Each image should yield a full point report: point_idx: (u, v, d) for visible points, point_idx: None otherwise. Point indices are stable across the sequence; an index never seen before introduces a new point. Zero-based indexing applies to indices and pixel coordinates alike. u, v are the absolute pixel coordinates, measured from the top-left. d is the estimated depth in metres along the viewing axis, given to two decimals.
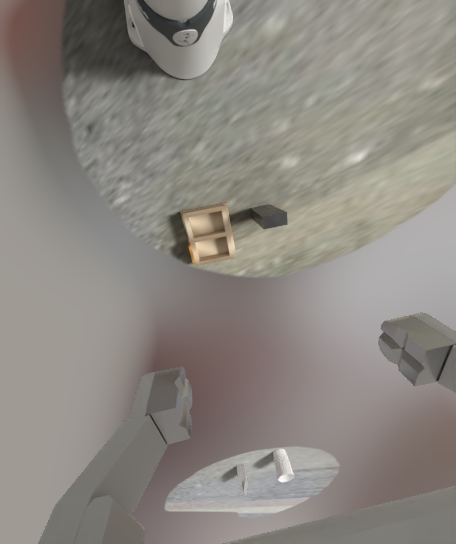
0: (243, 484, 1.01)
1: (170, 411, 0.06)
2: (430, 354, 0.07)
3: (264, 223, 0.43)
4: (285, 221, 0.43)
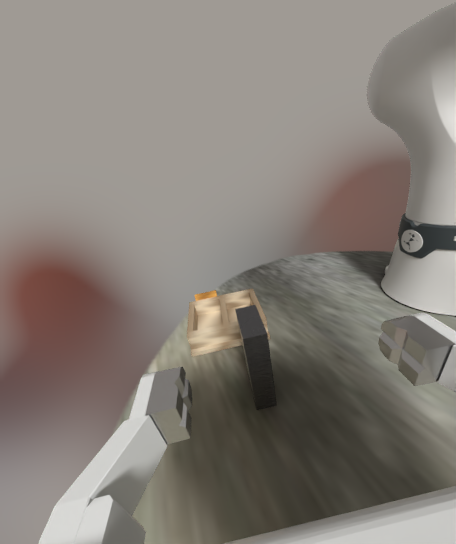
0: None
1: (170, 412, 0.06)
2: (430, 354, 0.07)
3: (244, 308, 0.25)
4: (248, 334, 0.21)
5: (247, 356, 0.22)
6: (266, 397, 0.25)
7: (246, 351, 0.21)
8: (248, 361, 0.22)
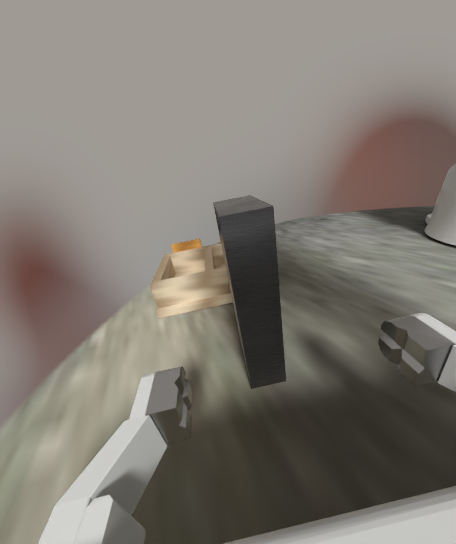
0: None
1: (169, 412, 0.06)
2: (430, 354, 0.07)
3: (230, 199, 0.14)
4: (232, 212, 0.10)
5: (230, 266, 0.10)
6: (268, 363, 0.14)
7: (228, 252, 0.10)
8: (233, 279, 0.11)
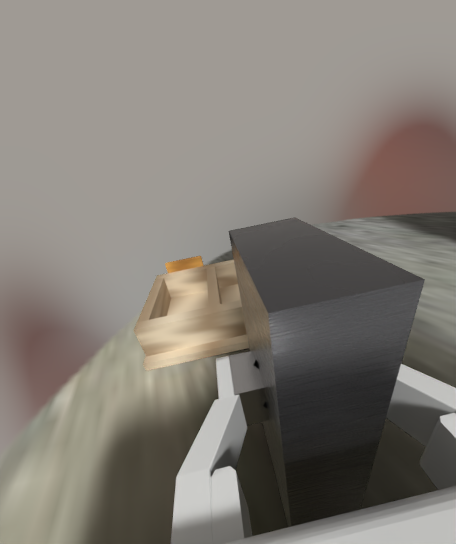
0: None
1: (258, 391, 0.06)
2: None
3: (261, 225, 0.07)
4: (302, 290, 0.04)
5: (284, 408, 0.04)
6: None
7: (282, 385, 0.04)
8: (286, 429, 0.05)
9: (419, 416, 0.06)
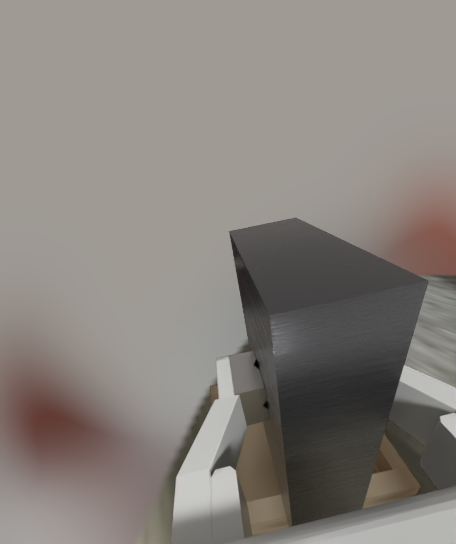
0: None
1: (258, 391, 0.06)
2: None
3: (262, 226, 0.07)
4: (303, 292, 0.03)
5: (286, 411, 0.04)
6: None
7: (284, 388, 0.04)
8: (288, 431, 0.05)
9: (419, 416, 0.06)
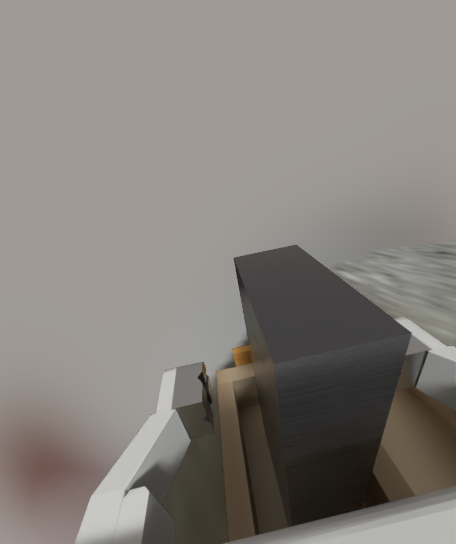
0: None
1: (195, 406, 0.06)
2: (406, 360, 0.07)
3: (264, 253, 0.08)
4: (303, 339, 0.04)
5: (287, 438, 0.05)
6: None
7: (286, 420, 0.04)
8: (289, 455, 0.05)
9: None
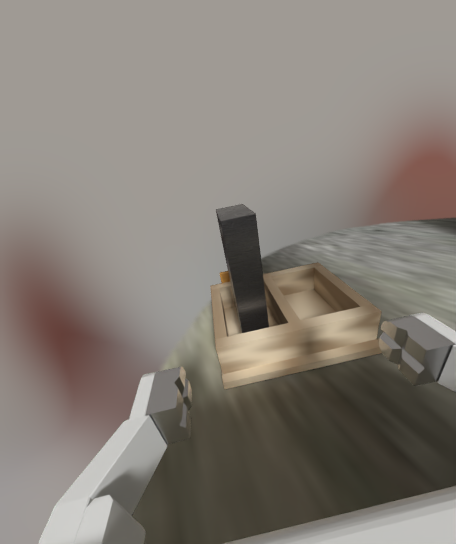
0: None
1: (170, 412, 0.06)
2: (430, 354, 0.07)
3: (228, 207, 0.19)
4: (229, 217, 0.15)
5: (228, 253, 0.16)
6: (257, 326, 0.19)
7: (226, 244, 0.15)
8: (230, 262, 0.16)
9: None
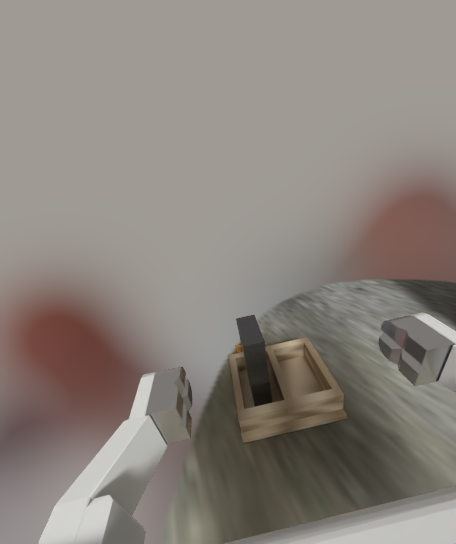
0: None
1: (170, 412, 0.06)
2: (430, 354, 0.07)
3: (244, 317, 0.28)
4: (248, 342, 0.24)
5: (246, 361, 0.25)
6: (263, 397, 0.28)
7: (246, 357, 0.25)
8: (247, 365, 0.25)
9: None
